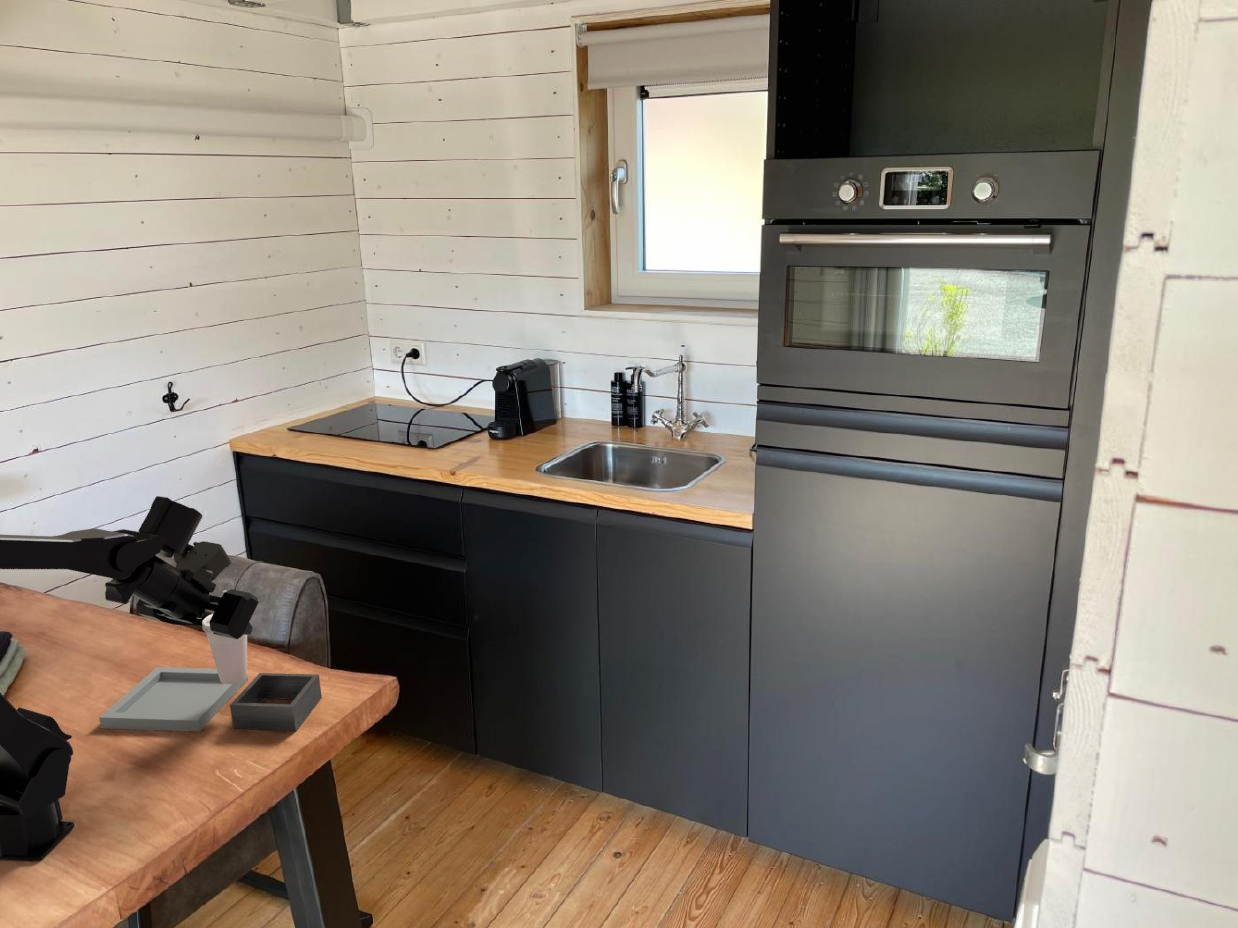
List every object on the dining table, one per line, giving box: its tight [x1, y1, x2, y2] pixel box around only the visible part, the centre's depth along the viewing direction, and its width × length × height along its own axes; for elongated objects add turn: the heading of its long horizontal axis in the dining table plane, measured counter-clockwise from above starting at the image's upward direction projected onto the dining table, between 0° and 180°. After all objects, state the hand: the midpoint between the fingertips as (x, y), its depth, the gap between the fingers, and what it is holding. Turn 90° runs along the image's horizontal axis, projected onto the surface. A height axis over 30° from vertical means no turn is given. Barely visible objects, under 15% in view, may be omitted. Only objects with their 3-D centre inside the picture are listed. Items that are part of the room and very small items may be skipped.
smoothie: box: [201, 590, 248, 684], centre depth 136 cm, size 6×6×14 cm
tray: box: [98, 666, 248, 732], centre depth 142 cm, size 15×15×2 cm
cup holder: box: [229, 672, 322, 733], centre depth 138 cm, size 9×9×4 cm
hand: (234, 627), depth 137 cm, fingers closed on smoothie, 6 cm apart
